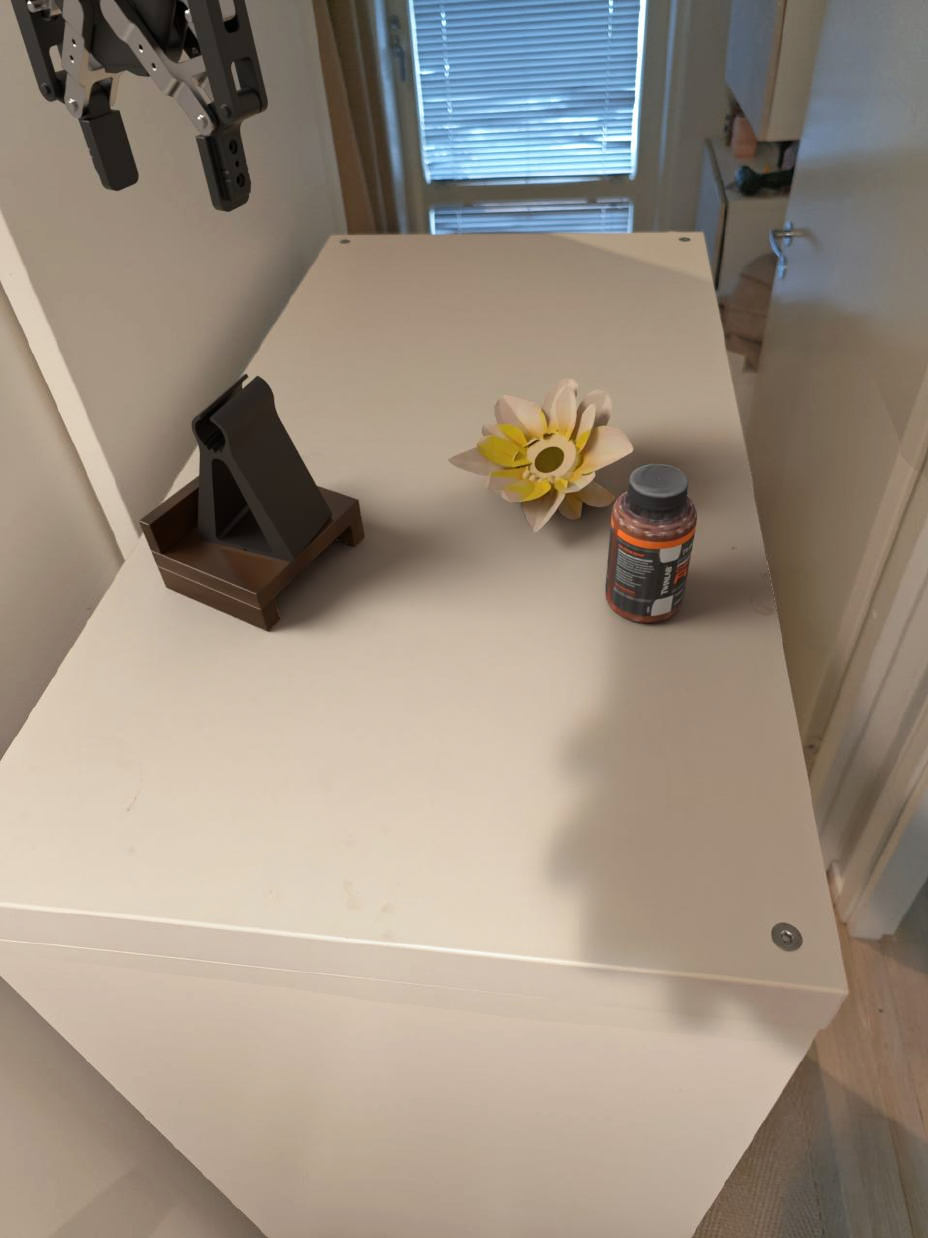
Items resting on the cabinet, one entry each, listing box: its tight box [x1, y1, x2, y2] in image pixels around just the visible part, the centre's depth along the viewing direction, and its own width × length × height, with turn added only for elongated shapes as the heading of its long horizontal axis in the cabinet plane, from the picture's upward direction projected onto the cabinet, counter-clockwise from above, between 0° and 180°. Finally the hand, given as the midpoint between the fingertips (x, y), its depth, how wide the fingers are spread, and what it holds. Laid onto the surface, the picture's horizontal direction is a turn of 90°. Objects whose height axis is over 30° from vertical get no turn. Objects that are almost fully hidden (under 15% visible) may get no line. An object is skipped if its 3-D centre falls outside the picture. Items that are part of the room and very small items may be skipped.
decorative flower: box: [447, 377, 634, 533], centre depth 73 cm, size 15×11×10 cm
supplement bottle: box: [604, 463, 698, 624], centre depth 62 cm, size 6×6×11 cm
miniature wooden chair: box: [138, 475, 366, 632], centre depth 69 cm, size 13×11×7 cm
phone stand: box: [191, 373, 332, 562], centre depth 64 cm, size 9×6×12 cm, turn 67°
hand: (176, 196), depth 48 cm, fingers open, 8 cm apart
